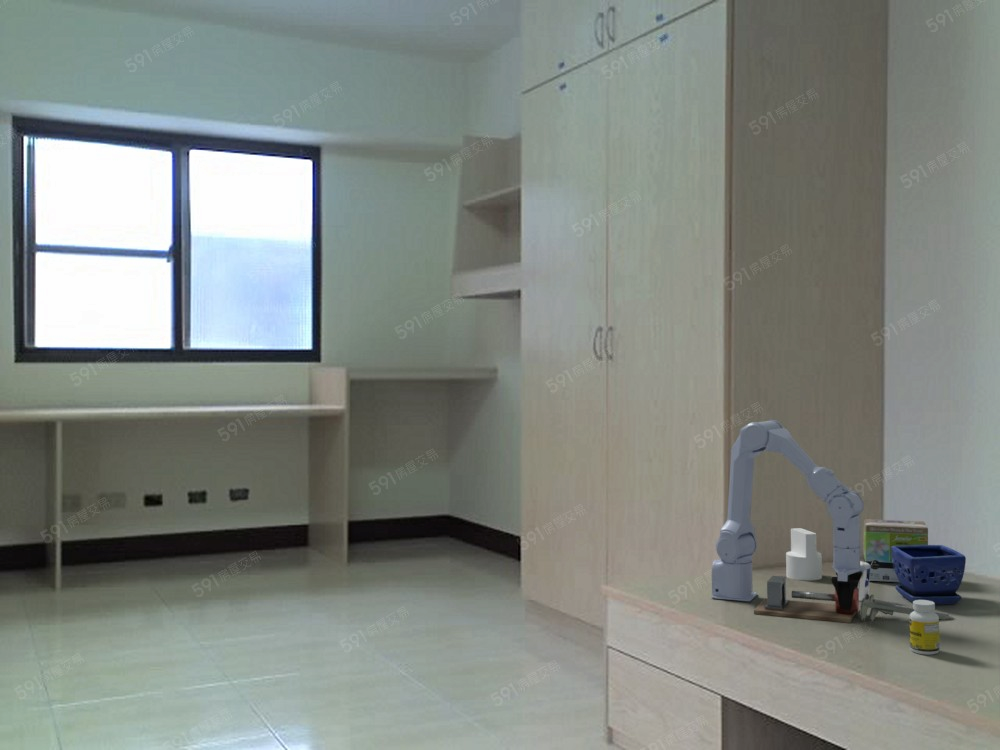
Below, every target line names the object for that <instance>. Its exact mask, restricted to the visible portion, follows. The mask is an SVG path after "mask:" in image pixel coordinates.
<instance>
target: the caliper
mask: <svg viewBox="0 0 1000 750" xmlns="http://www.w3.org/2000/svg"><path fill="white" fill-rule="evenodd" d="M874 598H875V595H874V594H873V593H872V594H871V595H870V593H869V594H866V598H863V600H862V601H861V604H860V620H861V621H863V622H865V621H866V618H867V617H866V616H867V613H868V610H869V609H870V611H869V614H868V615H869V616H868V621H869V622H874V620H875V618H876V616H877V615H878V613H879V612H880V613H883V614H884V615H890V616H893V615H894V613H899V614H904V615H905V614H906V615H910V614H911V613H912V612H913V611H914V609H913V606H912V607H911V606H906V605H905V606H904V605H898V604H896V603H894V602H892V601H886V600H882V599H881V600H880V599H874ZM934 613H936V614H937V615H938V617H939V620H954V619H955V618H954V617H953V616H952V615H950V614H949V613H948V612H942V611H936V610H934Z"/></svg>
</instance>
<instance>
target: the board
mask: <svg viewBox="0 0 1000 750" xmlns="http://www.w3.org/2000/svg"><path fill="white" fill-rule="evenodd" d="M788 600H789V599H788ZM766 604H767V598H766V597H765V598H764V599H763V600H762V601H761V602H760V603H759V604H758V605H757V606H756V607H755V609H754V610H753V614H754V615H761V616H771V617H784V618H792V619H793V618H794V619H795V618H796V619H802V620H803V619H804V620H805V619H806V620H817V621H826V622H827V621H828V622H835V623H837V622H839V623H845V624H846V623H847V624H851V622H852V621H853V619H854V618H855V616H856V614H857V613H853V614H847V613H840V612H837V611H836V610H835V603H834V604H832V603H823V602H812V601H802V600H801V601H798V600H789V603H788V604H787V606H786V607H785V608H784V609H783V611H780V610H769V609H765V605H766Z"/></svg>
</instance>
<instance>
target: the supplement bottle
mask: <svg viewBox="0 0 1000 750" xmlns="http://www.w3.org/2000/svg"><path fill="white" fill-rule="evenodd" d="M912 608H913V609H914V611H913V612H912V613H911V614H909V648H910V651H911V652H913V653H915V654H919V655H924V656H925V655H926V656H928V655H929V656H931V655H932V656H933V655H937V654H939V652H940V619H939V617H938V615H937V614H936V613H934V611H936V605H935V603H934V602H932V601H928V600H915V601H913V602H912Z"/></svg>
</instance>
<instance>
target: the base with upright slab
mask: <svg viewBox="0 0 1000 750" xmlns="http://www.w3.org/2000/svg"><path fill="white" fill-rule="evenodd" d="M817 542H818V541H817V533H816V532H813V531H810V530H808V529H804V528H801V527H799V528H798V527H795V528H790V551H786V552H785V563H786V564H785V565H786V566H785V567H786V570H785V571H786V574H785V575H786V576H785V577H786V578H788V579H790V580H797V581H807V582H808V581H817V580H821V579H823V562H822V561H823V560H822V559H823V558H822V556H823V554H822V553H821V552H819V551H818V550H817V549H818V547H817V545H818V543H817Z"/></svg>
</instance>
